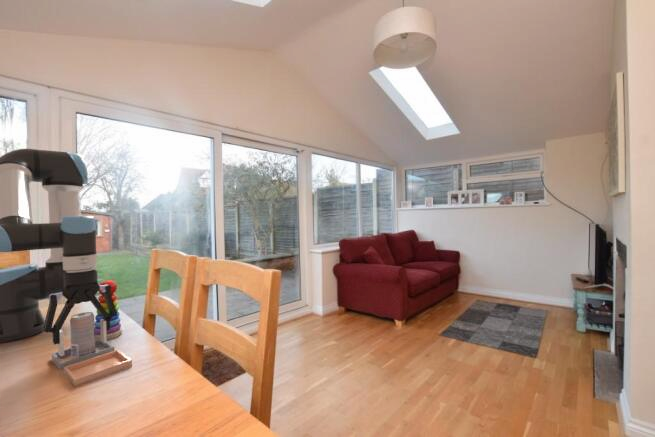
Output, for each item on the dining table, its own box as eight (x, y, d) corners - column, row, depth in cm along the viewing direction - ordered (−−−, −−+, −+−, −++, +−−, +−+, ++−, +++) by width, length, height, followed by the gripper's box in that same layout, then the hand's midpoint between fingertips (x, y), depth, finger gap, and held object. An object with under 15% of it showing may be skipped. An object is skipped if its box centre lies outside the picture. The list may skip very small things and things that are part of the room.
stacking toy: (106, 342, 95) (104, 283, 95) (86, 340, 97) (84, 283, 97) (127, 332, 103) (126, 278, 103) (108, 331, 105) (106, 277, 104)
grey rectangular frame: (51, 359, 85) (51, 353, 85) (103, 344, 94) (102, 338, 94) (60, 370, 78) (60, 363, 78) (114, 353, 88) (114, 346, 88)
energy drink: (92, 350, 90) (91, 310, 90) (97, 355, 87) (96, 314, 86) (69, 357, 86) (68, 315, 86) (74, 362, 83) (72, 319, 82)
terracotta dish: (63, 374, 77) (63, 367, 77) (118, 355, 86) (118, 349, 86) (74, 387, 71) (74, 380, 71) (132, 366, 80) (131, 359, 80)
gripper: (30, 278, 75) (33, 367, 75) (128, 265, 92) (131, 337, 93) (24, 275, 79) (28, 359, 80) (119, 263, 97) (122, 332, 97)
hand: (83, 347), depth 86 cm, fingers open, 9 cm apart
